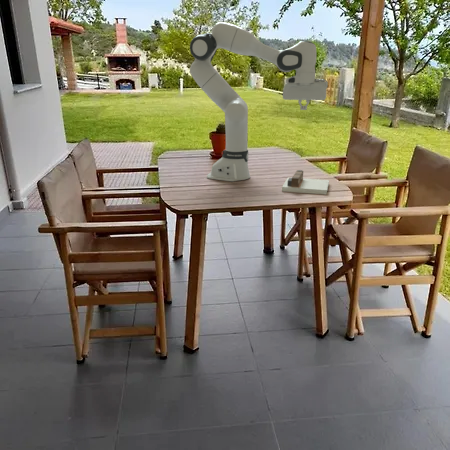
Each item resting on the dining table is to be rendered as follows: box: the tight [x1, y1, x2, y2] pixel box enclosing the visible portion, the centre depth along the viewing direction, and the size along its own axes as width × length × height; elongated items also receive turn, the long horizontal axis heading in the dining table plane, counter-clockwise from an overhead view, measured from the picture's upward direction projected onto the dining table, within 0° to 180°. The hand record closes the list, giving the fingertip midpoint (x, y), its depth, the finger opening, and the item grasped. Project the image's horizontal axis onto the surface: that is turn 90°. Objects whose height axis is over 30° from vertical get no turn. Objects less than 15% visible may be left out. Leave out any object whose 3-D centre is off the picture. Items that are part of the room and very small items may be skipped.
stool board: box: [281, 176, 330, 195], centre depth 191 cm, size 20×18×4 cm
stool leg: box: [291, 169, 304, 187], centre depth 192 cm, size 17×3×4 cm, turn 162°
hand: (303, 109), depth 195 cm, fingers closed
